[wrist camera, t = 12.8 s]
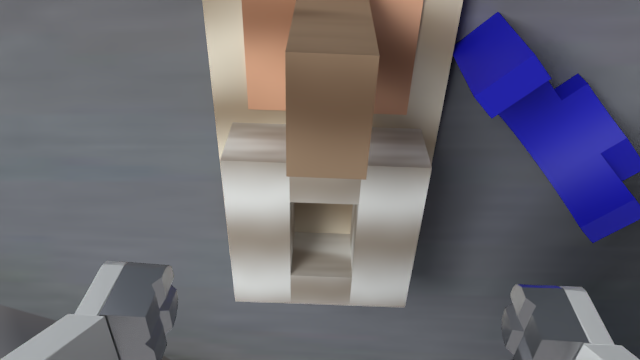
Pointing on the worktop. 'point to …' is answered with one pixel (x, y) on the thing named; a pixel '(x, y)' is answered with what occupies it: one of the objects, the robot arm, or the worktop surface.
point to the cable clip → (554, 126)
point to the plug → (330, 88)
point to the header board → (326, 193)
